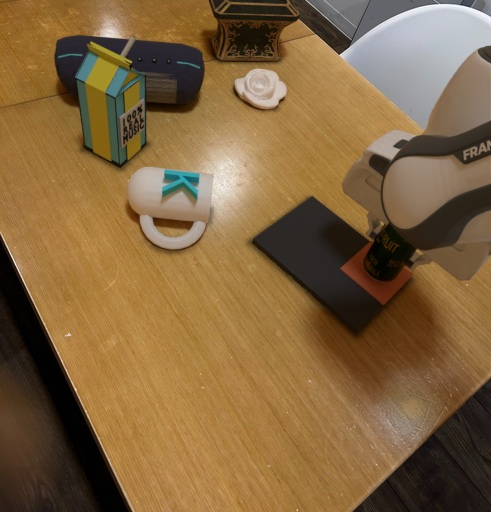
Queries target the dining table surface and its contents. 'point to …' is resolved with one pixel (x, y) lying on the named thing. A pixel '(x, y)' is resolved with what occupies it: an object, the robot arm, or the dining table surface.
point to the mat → (328, 262)
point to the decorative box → (250, 28)
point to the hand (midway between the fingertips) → (391, 250)
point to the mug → (171, 202)
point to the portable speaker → (139, 65)
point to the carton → (111, 104)
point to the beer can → (387, 255)
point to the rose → (261, 88)
